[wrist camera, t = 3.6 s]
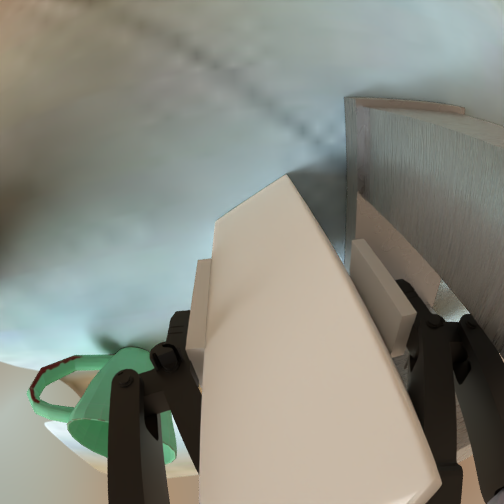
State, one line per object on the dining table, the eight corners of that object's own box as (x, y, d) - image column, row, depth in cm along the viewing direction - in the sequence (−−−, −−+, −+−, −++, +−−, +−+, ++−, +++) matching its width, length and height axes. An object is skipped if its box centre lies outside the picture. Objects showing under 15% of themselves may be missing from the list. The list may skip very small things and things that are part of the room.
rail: (344, 97, 17) (567, 162, 3) (448, 104, 17) (631, 177, 3) (335, 353, 29) (379, 495, 16) (410, 336, 29) (471, 456, 16)
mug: (192, 343, 27) (184, 438, 19) (177, 395, 32) (170, 472, 23) (49, 303, 24) (6, 382, 16) (59, 363, 29) (33, 432, 20)
